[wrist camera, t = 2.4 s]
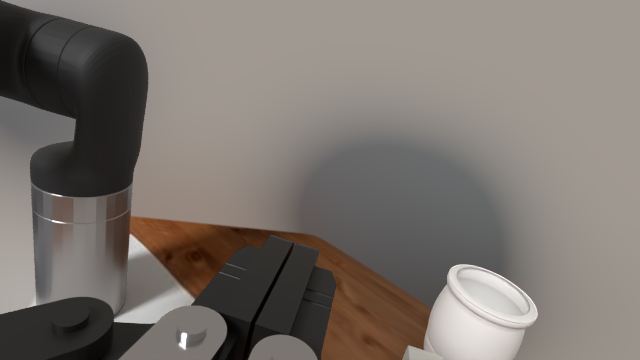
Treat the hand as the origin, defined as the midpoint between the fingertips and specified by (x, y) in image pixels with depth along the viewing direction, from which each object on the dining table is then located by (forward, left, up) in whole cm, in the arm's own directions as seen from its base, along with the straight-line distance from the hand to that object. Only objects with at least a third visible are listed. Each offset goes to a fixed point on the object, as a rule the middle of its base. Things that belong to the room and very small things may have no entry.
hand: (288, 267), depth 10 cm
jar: (-19, +31, -30) cm, 47 cm away
